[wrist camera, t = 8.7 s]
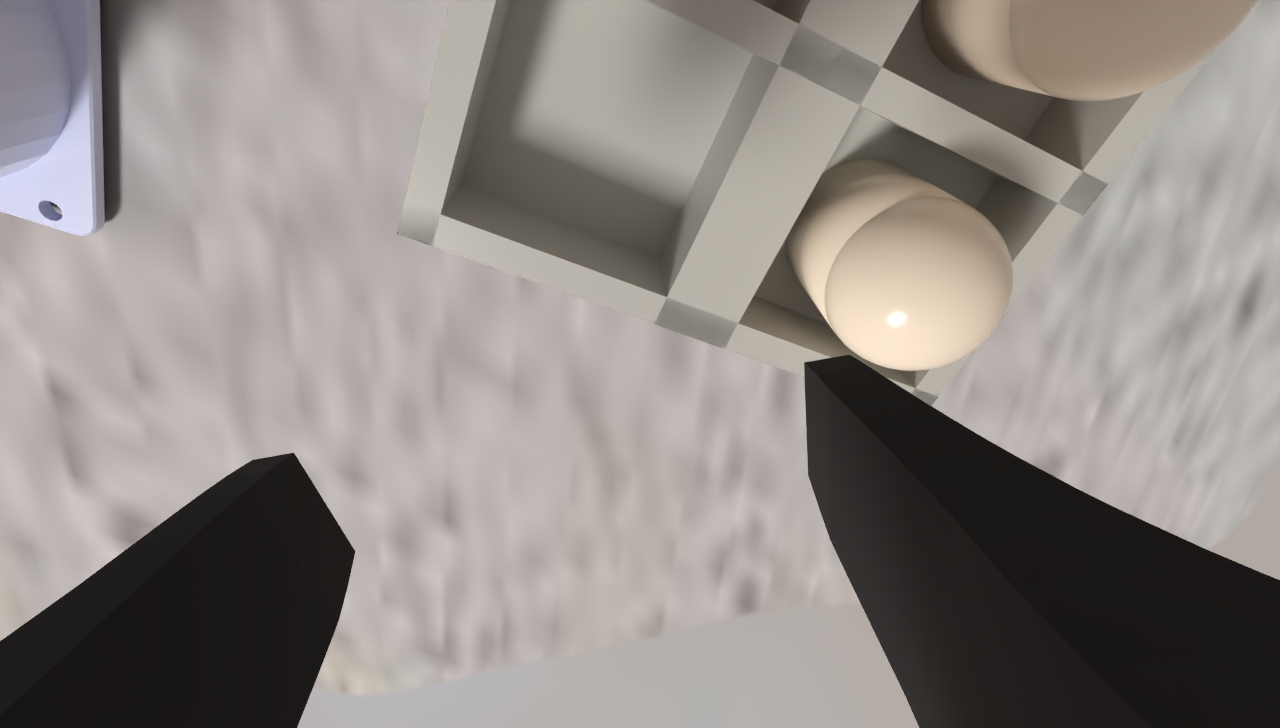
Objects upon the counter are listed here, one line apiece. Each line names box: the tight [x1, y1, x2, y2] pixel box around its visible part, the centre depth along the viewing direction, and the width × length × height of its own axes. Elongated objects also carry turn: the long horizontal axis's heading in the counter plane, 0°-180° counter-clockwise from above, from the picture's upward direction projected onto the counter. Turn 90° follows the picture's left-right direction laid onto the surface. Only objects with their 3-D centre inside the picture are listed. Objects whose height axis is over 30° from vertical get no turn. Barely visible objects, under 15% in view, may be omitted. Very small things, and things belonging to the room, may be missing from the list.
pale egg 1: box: [784, 158, 1013, 371], centre depth 15 cm, size 4×4×6 cm
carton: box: [397, 0, 1216, 406], centre depth 14 cm, size 15×14×3 cm
